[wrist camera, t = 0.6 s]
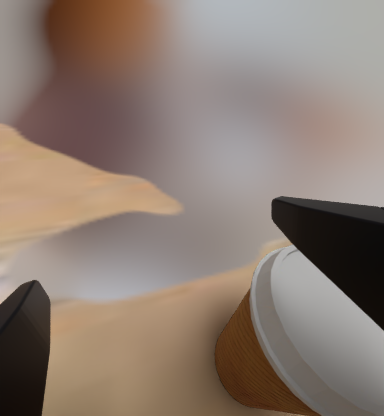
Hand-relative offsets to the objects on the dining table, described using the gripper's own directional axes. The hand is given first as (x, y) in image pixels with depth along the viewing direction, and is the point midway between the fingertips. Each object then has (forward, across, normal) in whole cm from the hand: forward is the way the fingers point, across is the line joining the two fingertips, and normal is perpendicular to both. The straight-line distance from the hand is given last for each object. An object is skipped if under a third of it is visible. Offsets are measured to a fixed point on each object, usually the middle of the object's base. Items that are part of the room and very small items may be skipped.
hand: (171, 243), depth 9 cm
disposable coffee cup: (+3, -5, +17) cm, 18 cm away
